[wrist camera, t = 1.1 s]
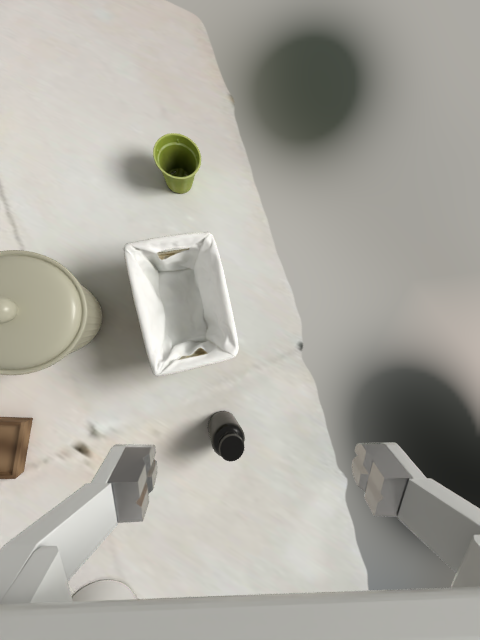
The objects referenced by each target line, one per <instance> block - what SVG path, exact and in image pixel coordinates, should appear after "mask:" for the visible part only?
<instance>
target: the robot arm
mask: <svg viewBox="0 0 480 640" xmlns="http://www.w3.org/2000/svg"><path fill="white" fill-rule="evenodd" d="M355 452H356V454H357V456H356V457H355V458H354V459H353V461H352V473H353V476H354V479H355V481H356V483H357V485H358V487H360V488H361V489H362V490H363V491H364V492H365V496H364V498H365V500H366V502H367V504H368V506H369V508H370V510H371V511H372V513H373V515H374V516H393V517H396V516H397V518H398V519H399V520H400V521H401V522H402V523H403V524H404V525H405V526H406V527H407V528H408V529H409V530H411V531H412V532H413V533H414V534H415V535H416V536H417V537H418V538H419V539H420V540H421V541H422V542H423V543H425V545H427V546H428V547H429V548H430V549H431V550H432V551H433V552H434V553H435V554H436V555H437V556H438V557H440V559H442V560H443V561H444V562H445V563H446V564H447V565H448V566H449V567H450V568H451V569H452V570H453V571H454V572H455V573H456V575H455V578H454V580H453V582H452V585H451V588H428V589H401V590H374V591H345V592H317V593H289V594H261V595H235V596H208V597H181V598H154V599H137V598H136V597H135V595H134V593H133V592H132V590H131V589H130V588H129V587H128V586H127V585H125V584H123V583H121V582H119V581H115V580H101V581H97V582H94V583H91V584H89V585H87V586H85V587H84V588H82V589H81V590H79V591H78V592H77V593H76V594H75V595H74V596H73V597H72V596H71V592H70V589H69V585H68V581H69V580H70V579H71V577H72V576H73V575H74V574H75V573H76V572H77V571H78V569H79V568H80V567H81V566H82V565H83V564H84V563H85V561H86V560H87V559H88V558H89V557H90V556H91V555H92V553H93V552H94V551H95V550H96V549H97V548H98V547H99V545H100V544H101V543H102V542H103V541H104V540H105V539H106V537H107V536H108V535H109V534H110V533H111V532H112V530H113V529H114V528H115V527H116V526H117V525H118V523H122V522H140V521H143V519H144V516H145V513H146V510H147V507H148V504H149V495H148V494H149V493H150V492H151V491H152V490H153V488H154V485H155V481H156V475H157V461H156V460H155V459H154V457H155V454H156V449H155V445H133V444H128V445H119V444H115V445H114V446H113V447H112V448H111V450H110V451H109V453H108V455H107V456H106V458H105V460H104V461H103V463H102V465H101V466H100V468H99V470H98V471H97V473H96V475H95V477H94V478H93V480H92V482H91V483H88V484H85V485H84V486H82V487H81V488H80V489H78V490H77V491H76V492H74V493H73V494H72V495H70V496H69V497H68V498H66V499H65V500H64V501H62V502H61V503H60V504H58V505H57V506H56V507H54V508H53V509H52V510H50V511H49V512H48V513H46V514H45V515H44V516H42V517H41V518H40V519H38V520H37V521H36V522H34V523H33V524H32V525H30V526H29V527H28V528H26V529H25V530H24V531H22V532H21V533H20V534H18V535H17V536H16V537H14V538H13V539H12V540H10V541H9V542H8V543H6V544H5V545H4V546H3V547H2V548H1V550H0V640H480V509H479V508H478V507H476V506H474V505H473V504H471V503H469V502H468V501H466V500H465V499H463V498H462V497H460V496H458V495H457V494H455V493H453V492H452V491H450V490H449V489H447V488H445V487H444V486H442V485H441V484H439V483H437V482H436V481H434V480H432V479H427V478H426V477H425V476H424V475H423V473H422V472H421V471H420V470H419V469H418V468H417V466H416V465H415V464H414V463H413V462H412V461H411V459H410V458H409V457H408V456H407V455H406V454H405V452H404V451H403V450H402V449H401V448H400V446H399V445H398V444H396V443H358V444H357V445H356V447H355Z"/></svg>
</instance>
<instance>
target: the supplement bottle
mask: <svg viewBox="0 0 480 640" xmlns="http://www.w3.org/2000/svg"><path fill="white" fill-rule="evenodd" d="M208 432H209V436H210V440H211V443H212V447H213V449H214V451H215V452H216V453H217V454H218V455H219V456H222V457H223V459H225V460H227V461H235V460H237V459H239V457H241V455H242V453H243V451H244V440H245V437H244V432H243V430H242V428H241V427H240V425H239V424H238V422H237V420H236V419H235V417H234V416H233V415H232V414H231V413H229V412H227V411H220V412H217V413H215V414H214V415H213V416H212V417H211V418H210V420H209V423H208Z"/></svg>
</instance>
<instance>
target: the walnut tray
mask: <svg viewBox="0 0 480 640" xmlns="http://www.w3.org/2000/svg"><path fill="white" fill-rule="evenodd" d="M32 419H33V418H18V417H0V479H16V478H17V477H18V476H19V475H20V474H21V473H23V472H24V467H25V461H26V455H27V449H28V443H29V437H30V431H31V425H32Z"/></svg>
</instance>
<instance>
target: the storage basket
mask: <svg viewBox="0 0 480 640" xmlns="http://www.w3.org/2000/svg"><path fill="white" fill-rule="evenodd" d="M172 248H188V249H181V250H173V251H168V252H161V251H164V250H168V249H172ZM124 256H125V261H126V267H127V271H128V276H129V281H130V285H131V290H132V294H133V299H134V303H135V307H136V311H137V315H138V319H139V324H140V328H141V332H142V336H143V340H144V344H145V349H146V352H147V356H148V359H149V362H150V366H151V369H152V372H153V374H154V375H155V376H164V375H169V374H174V373H178V372H182V371H186V370H190V369H194V368H198V367H202V366H206V365H210V364H214V363H218V362H222V361H225V360H228V359H231V358H234V357H235V356H236V355H237V353H238V340H237V334H236V328H235V323H234V318H233V313H232V308H231V304H230V299H229V294H228V290H227V285H226V280H225V276H224V271H223V267H222V263H221V259H220V255H219V252H218V249H217V246H216V242H215V239H214V237H213V235H212V234H211V233H209V232H203V233H188V234H179V235H171V236H164V237H158V238H152V239H146V240H142V241H137V242H132V243H127V244H126V245H125V247H124Z"/></svg>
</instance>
